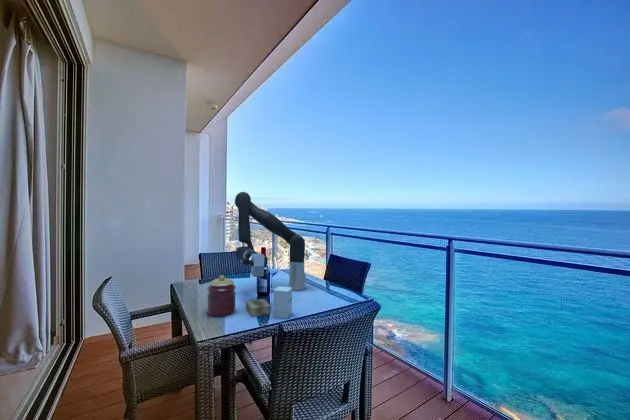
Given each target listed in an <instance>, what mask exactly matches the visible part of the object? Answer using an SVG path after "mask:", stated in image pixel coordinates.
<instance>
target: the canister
mask: <svg viewBox="0 0 630 420" xmlns="http://www.w3.org/2000/svg"><path fill="white" fill-rule="evenodd" d="M234 283H235V281H234V280H232V279H231V278H228V277H225V276H224V275H223V274H221V275H219V277H218V278H215V279H212V281H210V282H209V284H208V285H209V286H208V287H207V291H208V293H207V295H206V296H207V307H206V311H207V314H208V315H209V316H210V317H211V316H212V317H224V316H225V317H226V316H229V315H231V314H233V313H234V312H235V310H236V294H237V293H236V291H235V289H236V285H235V284H234Z"/></svg>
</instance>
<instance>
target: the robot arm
mask: <svg viewBox="0 0 630 420" xmlns="http://www.w3.org/2000/svg"><path fill="white" fill-rule="evenodd" d="M234 205H235V207H236V208H237V213H238V221H237V222H238V225H237V231H238V232H237V233H238V236H237V237H238V242H239V243H242V244H246V246H245V245H244V246H238V247H237V248H236V250H235V255H236V257H237V259H239V260H240V264H242V265H244V266H250V267H251V266H254V262H253V261H252V260H251V254H259V253H258V252H257V251H256V250H255V249H254V245H253V243H252V238H251V237H252V236H251V234H252V233H251V223H250V217H251V218H253V220H255V221H256V222H257V223H259V224H260V225H261V226H262V227H263V228H265V229H266V230H267V231H269V232H271V233H272V234H274V235H276V236H278V237H280V238H281V239H283V240H284V241H285V242H286V243H287V244H288V245H289V271H288V273H289V275H288V277H289V280H288V281H289V282H288V287H292V292H295V291H296V292H299V291H304V290H306V273H305V258H306V257H305V256H306V241H305V238H304V237H303V236H302V235H300V234H298V233H297V232H295V231H293V230H292V229H291V228H289V227H287V225H285V223H284V222H283V221H281V220H280V219H279V218H278V217H276V216H275V215H274V214H272V213H271V212H269V211H268V210H265V209H262V208H261V207H258V206H257V205H256V204H254V203H253V201H252V198H251V195H250V194H249V193H248V192H246V191H240V192H238V193H237V194H236V195H235V198H234ZM268 259H269V258H268V256H264V267H265V266H266V265H268V263H269V261H268Z"/></svg>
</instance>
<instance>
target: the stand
mask: <svg viewBox="0 0 630 420" xmlns="http://www.w3.org/2000/svg"><path fill="white" fill-rule="evenodd" d="M245 301H246V305H245V310H246V311H247V313H248V314H249V315H250V318H252V317H254V318H255V317H259V316H267V315H270V314H271V305H270V303H268V301H267V300H266V299H265V298H260V299H253V300H251V299H250V300H245Z"/></svg>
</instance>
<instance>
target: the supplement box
mask: <svg viewBox="0 0 630 420" xmlns="http://www.w3.org/2000/svg"><path fill="white" fill-rule="evenodd" d="M272 293H273V295H272V297H273V299H272V317H273V318H277V319H285V320H286V319H289V317H290V315H291V314H292V313H293V312H292V311H293V310H292V309H293V290H292V287H289V286H276V288H275V289H274V290H273V292H272Z"/></svg>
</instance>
